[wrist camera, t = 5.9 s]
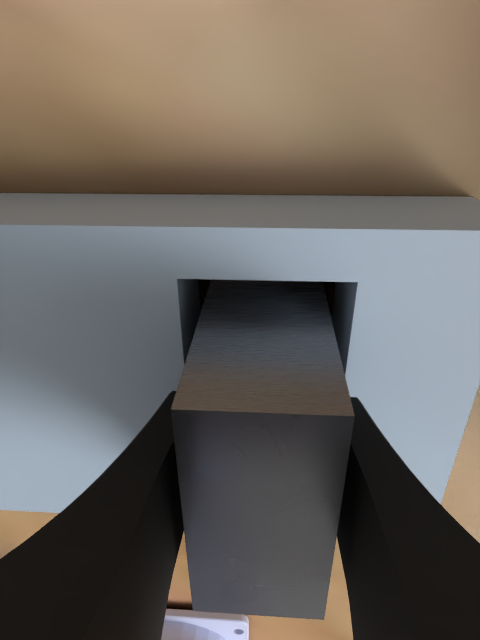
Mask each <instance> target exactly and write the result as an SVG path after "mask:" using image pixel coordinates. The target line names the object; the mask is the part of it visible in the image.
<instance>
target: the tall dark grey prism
mask: <svg viewBox="0 0 480 640" xmlns="http://www.w3.org/2000/svg"><path fill="white" fill-rule="evenodd" d="M171 416H172V425H173V434H174V443H175V452H176V461H177V470H178V479H179V488H180V498H181V507H182V516H183V525H184V534H185V543H186V552H187V561H188V570H189V579H190V588H191V597H192V606H193V611H200V612H215V613H230V614H245V615H260V616H275V617H290V618H306V619H321V620H324V616H325V609H326V603H327V596H328V590H329V583H330V576H331V570H332V563H333V557H334V550H335V543H336V537H337V530H338V523H339V517H340V510H341V504H342V497H343V490H344V484H345V477H346V471H347V464H348V457H349V451H350V444H351V438H352V431H353V424H354V418H355V415H354V411H353V407H352V403H351V399H350V395H349V390H348V386H347V382H346V378H345V374H344V370H343V365H342V361H341V357H340V353H339V349H338V345H337V341H336V336H335V332H334V328H333V324H332V320H331V316H330V312H329V307H328V303H327V299H326V295H325V291H324V287H323V282H318V281H267V280H215V279H211V281H210V285H209V288H208V291H207V294H206V297H205V301H204V304H203V307H202V310H201V314H200V317H199V320H198V323H197V326H196V330H195V333H194V336H193V339H192V343H191V346H190V349H189V352H188V355H187V359H186V362H185V365H184V368H183V372H182V375H181V378H180V381H179V385H178V388H177V391H176V394H175V397H174V401H173V404H172V407H171Z"/></svg>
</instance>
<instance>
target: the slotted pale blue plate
mask: <svg viewBox="0 0 480 640" xmlns="http://www.w3.org/2000/svg"><path fill="white" fill-rule="evenodd" d="M199 279H215V280H267V281H318V282H336V284H335V293H334V302H333V312H332V324H333V328H334V332H335V336H336V341H337V345H338V349H339V353H340V357H341V361H342V365H343V370H344V374H345V378H346V382H347V386H348V390H349V395H350V397H357V398H358V399H359V400H360V401H361V403H362V404H363V406H364V407H365V409H366V410H367V412H368V413H369V415H370V416H371V418H372V419H373V421H374V422H375V424H376V425H377V427H378V428H379V429H380V431H381V432H382V434H383V435H384V436H385V438H386V439H387V440H388V442H389V443H390V445H391V446H392V447H393V448H394V450H395V451H396V452H397V454H398V455H399V456H400V457H401V459H402V460H403V461H404V463H405V464H406V465H407V466H408V468H409V469H410V470H411V471H412V472H413V474H414V475H415V476H416V477H417V478H418V480H419V481H420V482H421V483H422V484H423V485H424V487H425V488H426V489H427V490H428V491H429V492H430V493H431V495H432V496H433V497H434V498H435V499H436V500H437V501H438V502H439V503H440V504H441V501H442V498H443V495H444V492H445V489H446V486H447V482H448V479H449V476H450V473H451V470H452V467H453V464H454V461H455V458H456V455H457V452H458V449H459V445H460V442H461V439H462V436H463V433H464V430H465V427H466V424H467V421H468V418H469V415H470V411H471V408H472V405H473V402H474V399H475V396H476V393H477V390H478V387H479V384H480V201H479V200H477V199H475V198H474V197H457V196H327V195H198V194H68V193H0V510H14V511H33V512H52V513H60V512H61V511H63V510H64V509H65V508H66V507H67V506H68V505H70V504H71V503H72V502H73V501H74V500H75V499H76V498H77V497H78V496H79V495H81V494H82V493H83V492H84V491H85V490H86V489H87V488H88V487H89V486H90V485H91V484H92V483H93V482H94V481H95V480H96V479H97V478H98V477H99V476H100V475H101V474H102V473H103V472H104V471H105V470H106V469H107V468H108V467H109V466H110V465H111V464H112V463H113V461H114V460H115V459H116V458H117V457H118V456H119V455H120V454H121V453H122V452H123V451H124V450H125V448H126V447H127V446H128V445H129V444H130V443H131V441H132V440H133V439H134V438H135V437H136V436H137V434H138V433H139V432H140V431H141V430H142V428H143V427H144V426H145V425H146V423H147V422H148V421H149V420H150V418H151V417H152V416H153V415H154V413H155V412H156V411H157V409H158V408H159V407H160V405H161V404H162V403H163V401H164V400H165V398H166V397H167V396H168V394H169V393H170V392H172V391H177V388H178V385H179V381H180V378H181V375H182V372H183V368H184V365H185V362H186V359H187V355H188V352H189V349H190V346H191V343H192V339H193V336H194V333H195V330H196V326H197V323H198V320H199V317H200V314H201V311H200V294H199Z"/></svg>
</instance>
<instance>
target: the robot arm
mask: <svg viewBox="0 0 480 640" xmlns="http://www.w3.org/2000/svg"><path fill="white" fill-rule="evenodd" d="M175 394H176V391H172V392H170V393H169V394H168V396H167V397H166V398H165V400H164V401H163V403H162V404H161V405H160V407H159V408H158V409H157V411H156V412H155V413H154V415H153V416H152V417H151V418H150V420H149V421H148V422H147V423H146V425H145V426H144V427H143V428H142V430H141V431H140V432H139V433H138V434H137V436H136V437H135V438H134V439H133V440H132V441H131V443H130V444H129V445H128V446H127V447H126V448H125V450H124V451H123V452H122V453H121V454H120V455H119V456H118V457H117V458H116V459H115V460H114V461H113V463H112V464H111V465H110V466H109V467H108V468H107V469H106V470H105V471H104V472H103V473H102V474H101V475H100V476H99V477H98V478H97V479H96V480H95V481H94V482H93V483H92V484H91V485H90V486H89V487H88V488H87V489H86V490H85V491H84V492H83V493H82V494H81V495H79V496H78V497H77V498H76V499H75V500H74V501H73V502H72V503H71V504H70V505H68V506H67V507H66V508H65V509H64V510H63V511H61V512H60V513H59V514H58V515H57V516H55V517H54V518H53V519H52V520H51V521H49V522H48V523H47V524H46V525H45V526H44V527H42V528H41V529H40V530H39V531H37V532H36V533H35V534H34V535H32V536H31V537H30V538H28V539H27V540H26V541H24V542H23V543H22V544H20V545H19V546H18V547H16V548H15V549H14V550H12V551H11V552H9V553H8V554H7V555H5V556H4V557H2V558H1V559H0V640H249V619H248V617H247V616H246V615H244V614H230V613H215V612H200V611H193V610H181V609H166V607H167V600H168V594H169V589H170V584H171V580H172V575H173V571H174V567H175V563H176V559H177V555H178V551H179V547H180V543H181V539H182V535H183V532H184V525H183V516H182V507H181V498H180V488H179V479H178V470H177V461H176V452H175V443H174V434H173V425H172V416H171V407H172V404H173V401H174V397H175ZM350 399H351V403H352V407H353V411H354V415H355V418H354V424H353V431H352V438H351V444H350V451H349V457H348V464H347V471H346V477H345V484H344V490H343V497H342V504H341V510H340V517H339V523H338V530H337V539H338V544H339V549H340V554H341V559H342V564H343V569H344V573H345V578H346V584H347V590H348V596H349V603H350V611H351V620H352V630H353V639H354V640H480V543H479V542H478V541H477V540H476V539H474V538H473V537H472V536H471V535H470V534H469V533H468V532H467V531H466V530H465V529H464V528H463V527H462V526H461V525H460V524H459V523H458V522H457V521H456V520H455V519H454V518H453V517H452V516H451V515H450V514H449V513H448V512H447V511H446V510H445V509H444V508H443V507H442V505H441V504H440V503H439V502H438V501H437V500H436V499H435V498H434V497H433V496H432V495H431V493H430V492H429V491H428V490H427V489H426V488H425V487H424V485H423V484H422V483H421V482H420V481H419V480H418V478H417V477H416V476H415V475H414V474H413V472H412V471H411V470H410V469H409V468H408V466H407V465H406V464H405V463H404V461H403V460H402V459H401V457H400V456H399V455H398V454H397V452H396V451H395V450H394V448H393V447H392V446H391V445H390V443H389V442H388V440H387V439H386V438H385V436H384V435H383V434H382V432H381V431H380V429H379V428H378V427H377V425H376V424H375V422H374V421H373V419H372V418H371V416H370V415H369V413H368V412H367V410H366V409H365V407H364V406H363V404H362V403H361V401H360V400H359V399H358V398H357V397H350Z"/></svg>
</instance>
